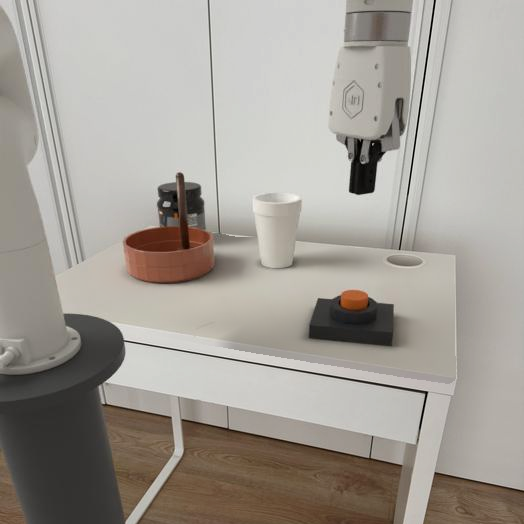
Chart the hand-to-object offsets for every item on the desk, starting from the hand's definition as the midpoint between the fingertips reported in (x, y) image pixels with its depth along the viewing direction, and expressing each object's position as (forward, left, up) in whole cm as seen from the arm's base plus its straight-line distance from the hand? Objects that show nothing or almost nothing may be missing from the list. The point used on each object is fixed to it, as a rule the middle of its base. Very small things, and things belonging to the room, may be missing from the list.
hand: (361, 192), depth 70 cm
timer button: (0, 0, -17) cm, 17 cm away
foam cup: (+26, +17, -21) cm, 37 cm away
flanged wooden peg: (+23, +35, -19) cm, 46 cm away
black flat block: (0, 0, -20) cm, 20 cm away
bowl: (+19, +37, -20) cm, 46 cm away
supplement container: (+37, +41, -21) cm, 59 cm away
